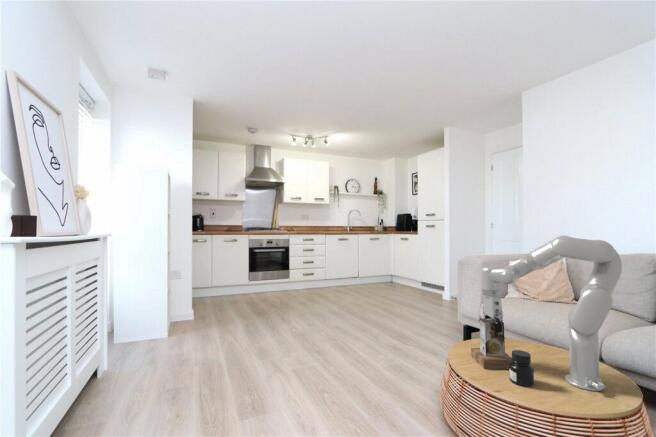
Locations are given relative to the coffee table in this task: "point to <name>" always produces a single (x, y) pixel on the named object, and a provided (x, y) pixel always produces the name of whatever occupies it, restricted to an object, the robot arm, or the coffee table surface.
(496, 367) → the walnut block
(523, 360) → the ink bottle
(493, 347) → the coffee box
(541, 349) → the coffee table surface
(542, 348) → the coffee table surface
